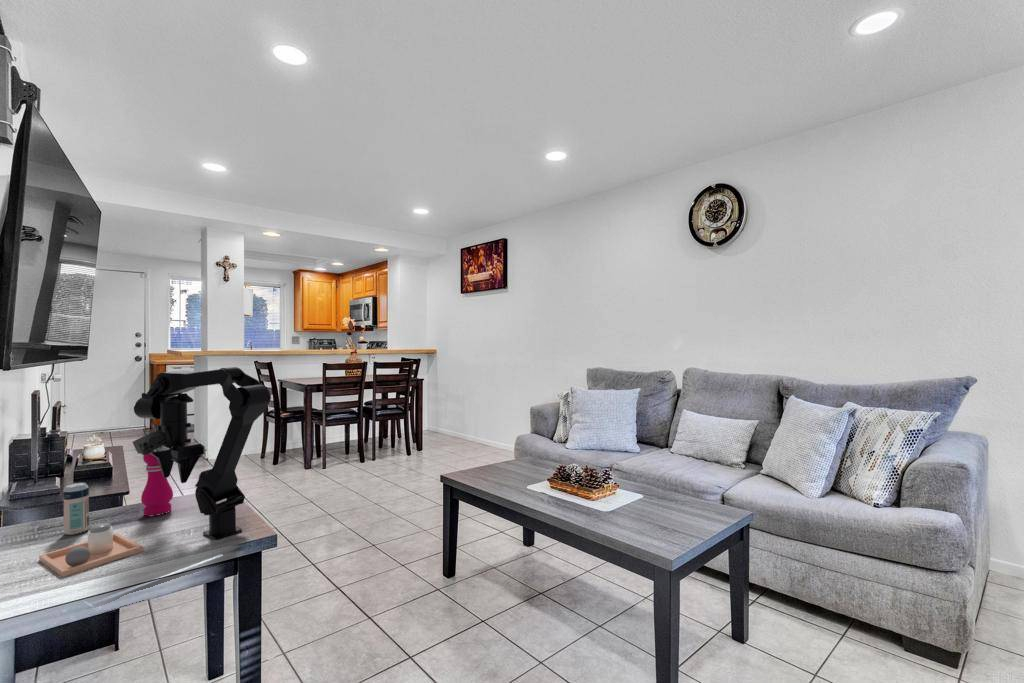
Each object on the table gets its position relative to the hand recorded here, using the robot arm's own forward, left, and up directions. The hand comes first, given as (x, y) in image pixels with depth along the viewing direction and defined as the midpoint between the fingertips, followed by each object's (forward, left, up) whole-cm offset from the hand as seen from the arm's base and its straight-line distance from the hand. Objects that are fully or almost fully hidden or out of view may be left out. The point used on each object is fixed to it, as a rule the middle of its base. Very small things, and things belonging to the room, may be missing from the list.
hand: (174, 479), depth 127 cm
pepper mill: (+15, -2, -12) cm, 19 cm away
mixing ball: (-8, +22, -12) cm, 26 cm away
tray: (-4, +18, -12) cm, 22 cm away
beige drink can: (+17, +15, -12) cm, 26 cm away
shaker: (-3, +16, -12) cm, 20 cm away
